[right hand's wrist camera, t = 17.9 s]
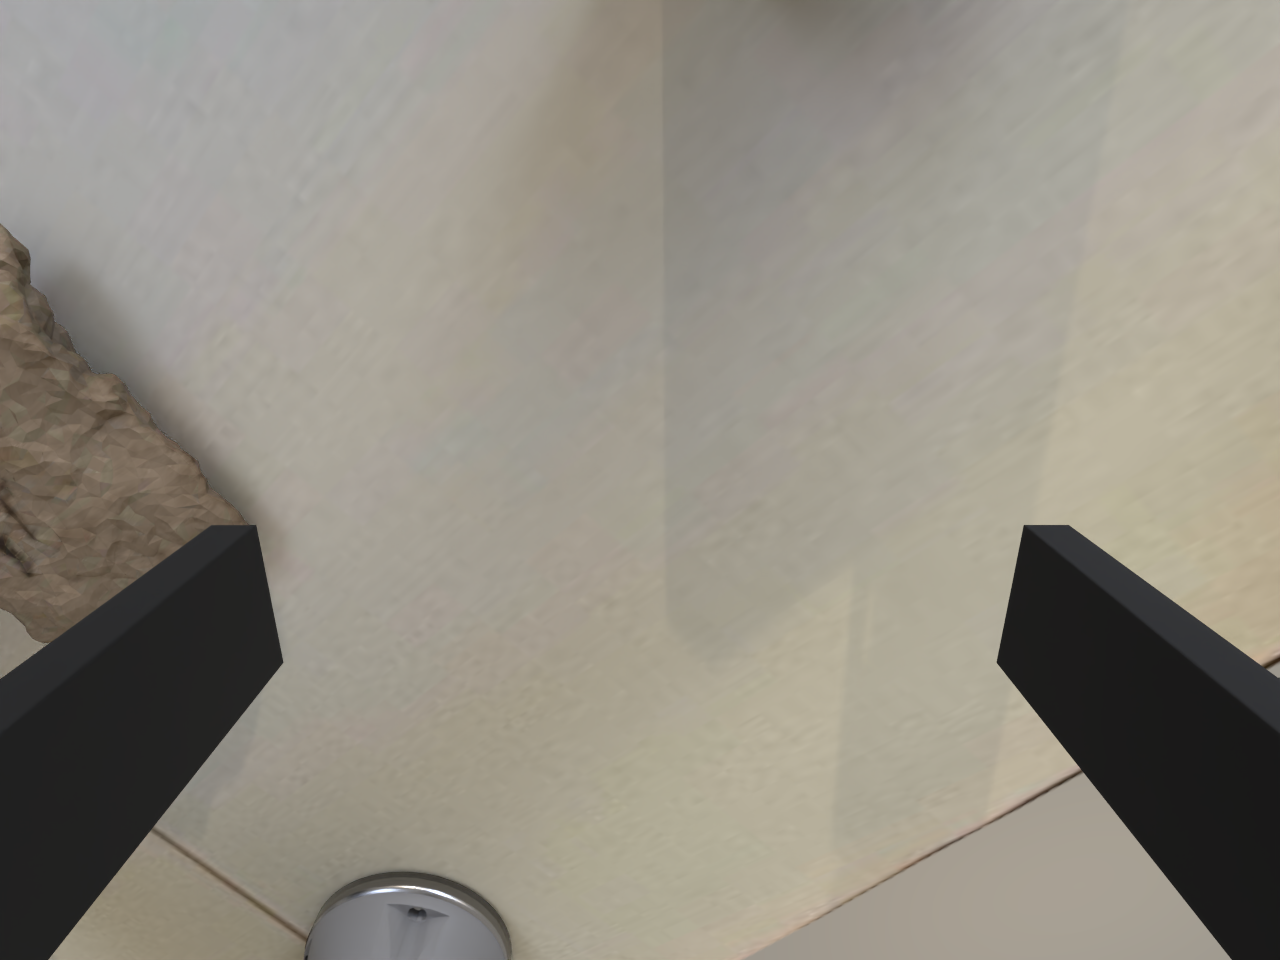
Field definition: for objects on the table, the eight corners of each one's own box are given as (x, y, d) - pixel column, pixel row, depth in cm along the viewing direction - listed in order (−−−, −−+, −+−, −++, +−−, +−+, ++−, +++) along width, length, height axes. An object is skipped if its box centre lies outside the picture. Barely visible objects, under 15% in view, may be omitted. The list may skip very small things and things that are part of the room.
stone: (-243, 354, 38) (-352, 383, 32) (15, 209, 38) (-50, 214, 33) (82, 630, 47) (40, 688, 42) (283, 510, 48) (266, 552, 43)
